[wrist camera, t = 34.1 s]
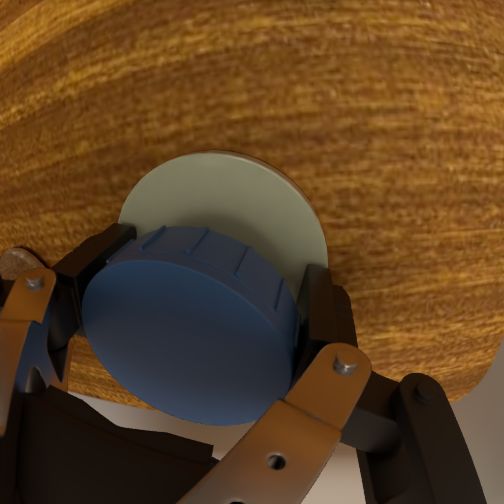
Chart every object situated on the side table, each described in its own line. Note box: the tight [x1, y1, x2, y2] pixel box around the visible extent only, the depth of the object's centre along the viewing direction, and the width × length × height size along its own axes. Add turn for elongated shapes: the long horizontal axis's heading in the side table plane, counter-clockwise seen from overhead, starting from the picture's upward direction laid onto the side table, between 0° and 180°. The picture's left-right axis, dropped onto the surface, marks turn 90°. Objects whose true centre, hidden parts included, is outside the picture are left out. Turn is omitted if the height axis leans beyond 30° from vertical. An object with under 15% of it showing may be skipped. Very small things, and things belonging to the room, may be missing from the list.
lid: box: [81, 225, 301, 426], centre depth 8 cm, size 6×6×2 cm
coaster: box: [118, 150, 328, 304], centre depth 11 cm, size 8×8×1 cm
